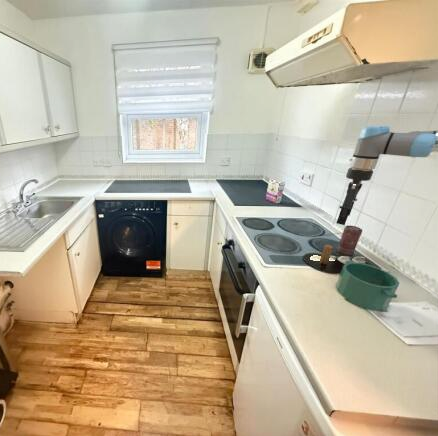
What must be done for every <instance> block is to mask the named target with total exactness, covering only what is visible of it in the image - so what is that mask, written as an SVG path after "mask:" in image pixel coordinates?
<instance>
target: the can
mask: <svg viewBox="0 0 438 436" xmlns="http://www.w3.org/2000/svg"><path fill="white" fill-rule="evenodd" d="M363 232H364V231H363V228H361V227H359V226H355V225H346V226H344V228H343V230H342V234H341V237H340V239H339V242H338V245H337V248H336V254H338V255H340V256H343V257H347V256H348V258H351V257H353V255H354V253H355V250H356V248H357V245H358V242H359V241H360V237H361V235H362V234H363Z"/></svg>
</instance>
